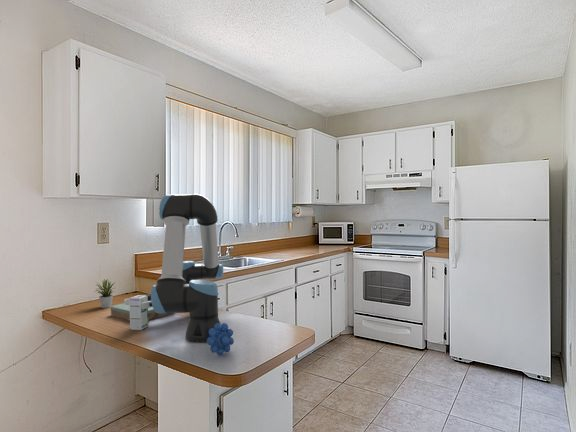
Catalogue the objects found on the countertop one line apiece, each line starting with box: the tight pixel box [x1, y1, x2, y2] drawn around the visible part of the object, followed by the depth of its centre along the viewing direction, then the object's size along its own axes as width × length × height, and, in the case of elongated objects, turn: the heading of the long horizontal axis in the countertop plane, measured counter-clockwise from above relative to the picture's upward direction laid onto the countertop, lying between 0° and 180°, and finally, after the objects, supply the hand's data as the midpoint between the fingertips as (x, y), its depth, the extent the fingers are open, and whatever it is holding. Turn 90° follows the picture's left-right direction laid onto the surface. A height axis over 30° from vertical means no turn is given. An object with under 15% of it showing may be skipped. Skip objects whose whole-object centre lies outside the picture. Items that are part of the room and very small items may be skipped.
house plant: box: [93, 278, 115, 309], centre depth 207 cm, size 14×14×16 cm
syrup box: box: [129, 294, 149, 331], centre depth 166 cm, size 6×6×14 cm
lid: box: [109, 303, 155, 314], centre depth 190 cm, size 22×25×8 cm
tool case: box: [110, 309, 172, 321], centre depth 190 cm, size 22×24×3 cm
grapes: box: [206, 322, 235, 356], centre depth 131 cm, size 12×7×12 cm, turn 138°
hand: (133, 304), depth 163 cm, fingers open, 13 cm apart
